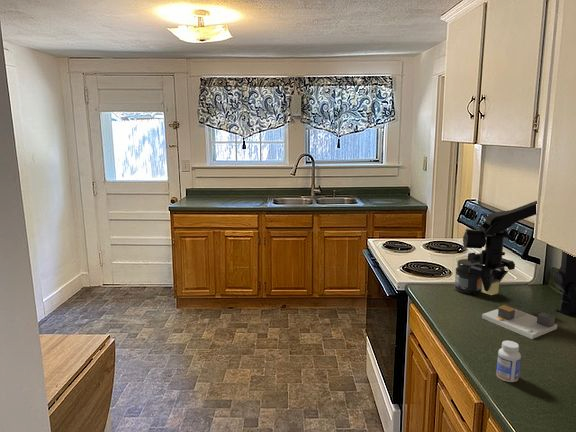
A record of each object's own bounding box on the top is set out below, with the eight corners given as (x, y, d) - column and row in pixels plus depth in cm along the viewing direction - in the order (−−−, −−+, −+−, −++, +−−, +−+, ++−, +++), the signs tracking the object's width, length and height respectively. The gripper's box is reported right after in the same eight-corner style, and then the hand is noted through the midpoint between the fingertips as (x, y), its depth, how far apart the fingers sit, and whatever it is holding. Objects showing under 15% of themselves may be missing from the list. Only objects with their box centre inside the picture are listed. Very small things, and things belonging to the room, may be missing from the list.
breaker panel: (506, 309, 160) (506, 305, 160) (556, 328, 145) (557, 323, 144) (481, 318, 153) (482, 313, 153) (532, 339, 138) (532, 333, 137)
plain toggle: (541, 320, 147) (542, 312, 146) (554, 325, 143) (555, 316, 143) (536, 322, 145) (537, 314, 145) (548, 327, 142) (549, 318, 141)
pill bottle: (511, 371, 120) (515, 338, 118) (522, 382, 114) (526, 348, 113) (492, 371, 120) (495, 339, 118) (502, 383, 114) (505, 349, 112)
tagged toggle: (503, 313, 152) (504, 304, 152) (514, 318, 149) (515, 308, 148) (497, 315, 151) (498, 306, 150) (508, 319, 147) (509, 310, 147)
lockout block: (488, 289, 163) (489, 276, 162) (498, 293, 159) (499, 280, 158) (481, 291, 161) (482, 278, 160) (491, 295, 157) (492, 282, 156)
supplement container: (486, 290, 179) (488, 262, 176) (474, 297, 172) (477, 268, 169) (461, 283, 186) (463, 256, 184) (449, 290, 179) (451, 262, 177)
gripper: (490, 240, 168) (486, 278, 171) (457, 247, 159) (454, 287, 162) (517, 246, 158) (513, 287, 162) (484, 254, 149) (481, 297, 152)
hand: (490, 289), depth 160 cm, fingers closed on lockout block, 4 cm apart
